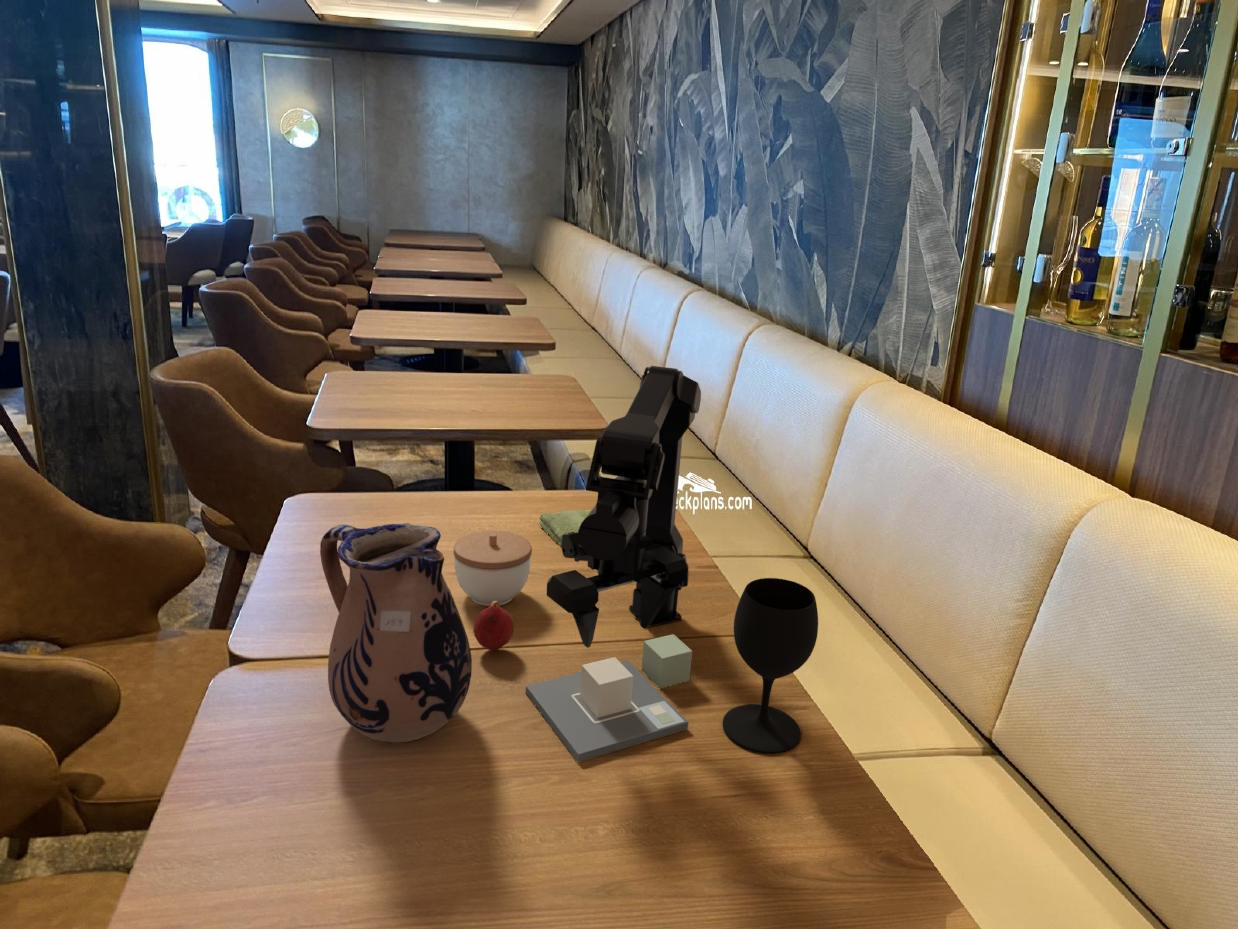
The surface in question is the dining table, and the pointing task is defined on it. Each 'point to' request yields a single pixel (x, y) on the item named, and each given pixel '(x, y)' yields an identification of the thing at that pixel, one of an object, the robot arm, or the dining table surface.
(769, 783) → the dining table surface
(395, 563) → the ceramic pitcher
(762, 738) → the wine glass
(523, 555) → the lidded bowl
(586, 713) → the slate board
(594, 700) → the cream block
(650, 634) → the dining table surface
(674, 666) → the sage block
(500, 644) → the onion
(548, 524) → the washcloth
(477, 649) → the dining table surface
